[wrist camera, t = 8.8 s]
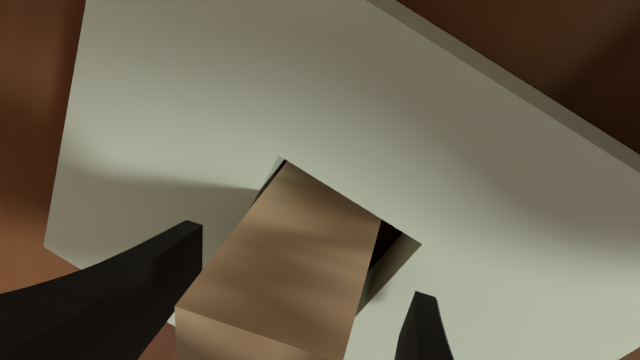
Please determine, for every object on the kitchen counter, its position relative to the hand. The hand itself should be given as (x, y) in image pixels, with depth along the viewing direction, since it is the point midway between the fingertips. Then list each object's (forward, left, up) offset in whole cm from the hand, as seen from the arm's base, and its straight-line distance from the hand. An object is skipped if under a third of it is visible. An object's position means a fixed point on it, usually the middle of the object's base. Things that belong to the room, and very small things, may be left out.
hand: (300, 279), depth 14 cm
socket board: (0, 0, -4) cm, 4 cm away
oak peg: (0, 0, -4) cm, 4 cm away
